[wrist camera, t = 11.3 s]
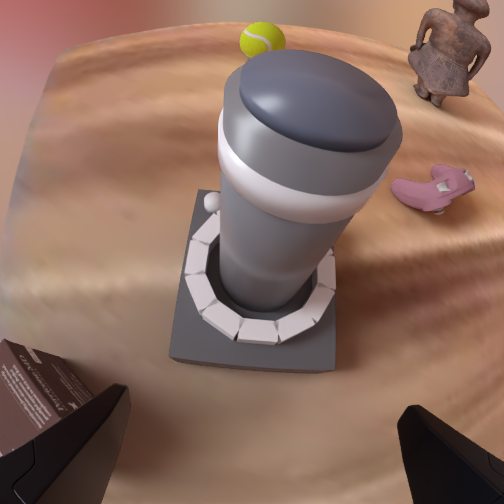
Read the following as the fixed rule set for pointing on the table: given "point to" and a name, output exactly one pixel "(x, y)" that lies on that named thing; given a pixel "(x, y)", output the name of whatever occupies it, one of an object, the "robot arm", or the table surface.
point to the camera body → (244, 321)
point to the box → (34, 393)
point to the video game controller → (434, 189)
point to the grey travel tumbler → (295, 167)
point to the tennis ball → (261, 39)
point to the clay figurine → (449, 50)
